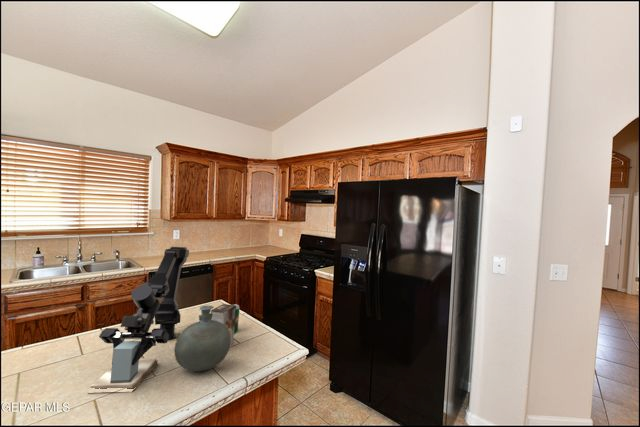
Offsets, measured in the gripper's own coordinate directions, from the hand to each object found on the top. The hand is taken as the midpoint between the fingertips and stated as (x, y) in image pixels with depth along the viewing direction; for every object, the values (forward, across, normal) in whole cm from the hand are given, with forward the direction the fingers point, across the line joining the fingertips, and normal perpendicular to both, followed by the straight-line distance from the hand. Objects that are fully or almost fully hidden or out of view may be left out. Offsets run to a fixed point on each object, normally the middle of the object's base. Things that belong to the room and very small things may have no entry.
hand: (122, 365), depth 77 cm
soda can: (-24, +25, +34) cm, 48 cm away
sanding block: (+2, 0, +5) cm, 5 cm away
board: (+1, -2, +9) cm, 9 cm away
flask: (-1, +21, +11) cm, 23 cm away
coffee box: (-13, +23, +24) cm, 36 cm away
